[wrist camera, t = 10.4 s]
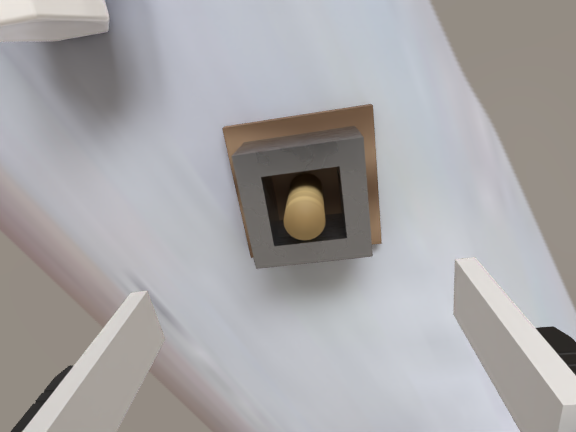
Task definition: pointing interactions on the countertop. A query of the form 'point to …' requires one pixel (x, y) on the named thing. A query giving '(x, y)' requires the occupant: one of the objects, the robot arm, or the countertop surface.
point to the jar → (51, 19)
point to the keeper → (314, 183)
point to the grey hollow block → (296, 158)
